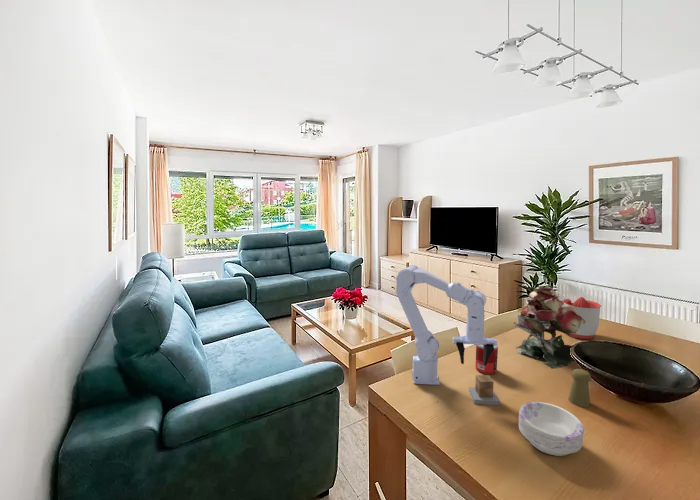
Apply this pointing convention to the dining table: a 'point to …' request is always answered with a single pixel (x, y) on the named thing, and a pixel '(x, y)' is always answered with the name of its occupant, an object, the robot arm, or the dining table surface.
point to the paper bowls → (550, 428)
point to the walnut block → (484, 386)
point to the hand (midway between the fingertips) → (473, 363)
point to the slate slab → (483, 398)
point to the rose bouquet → (547, 326)
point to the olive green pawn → (580, 388)
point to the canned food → (491, 363)
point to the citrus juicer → (586, 317)
